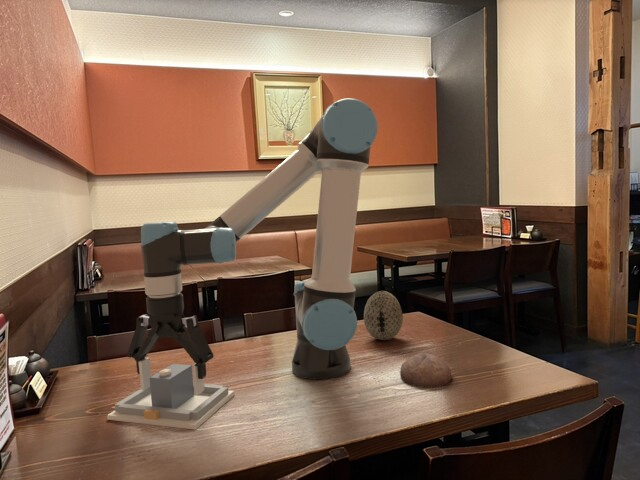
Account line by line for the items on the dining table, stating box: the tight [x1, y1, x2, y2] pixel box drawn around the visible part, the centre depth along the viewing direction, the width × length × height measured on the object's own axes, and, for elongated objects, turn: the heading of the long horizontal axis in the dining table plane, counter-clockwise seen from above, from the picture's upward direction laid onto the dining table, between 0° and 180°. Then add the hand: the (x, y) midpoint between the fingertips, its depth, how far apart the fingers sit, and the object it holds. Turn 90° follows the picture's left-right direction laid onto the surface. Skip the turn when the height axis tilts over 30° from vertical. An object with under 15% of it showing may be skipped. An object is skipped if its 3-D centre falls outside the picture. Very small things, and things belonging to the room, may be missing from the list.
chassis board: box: [106, 382, 235, 431], centre depth 99 cm, size 21×16×2 cm
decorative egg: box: [363, 290, 404, 341], centre depth 137 cm, size 12×12×15 cm
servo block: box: [150, 363, 194, 409], centre depth 99 cm, size 5×8×8 cm, turn 163°
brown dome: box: [399, 353, 452, 388], centre depth 107 cm, size 12×12×6 cm
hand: (172, 390), depth 99 cm, fingers open, 13 cm apart
